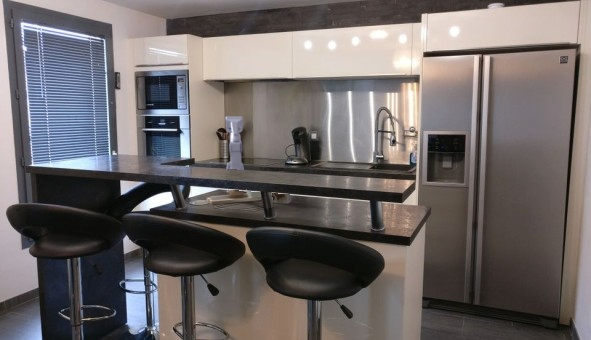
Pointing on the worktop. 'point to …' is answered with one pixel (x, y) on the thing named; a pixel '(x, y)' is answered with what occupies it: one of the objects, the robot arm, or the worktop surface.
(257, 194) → the gauge cabinet
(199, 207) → the worktop surface
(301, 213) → the worktop surface
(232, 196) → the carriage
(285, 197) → the coffee box
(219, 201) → the rail board
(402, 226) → the worktop surface
